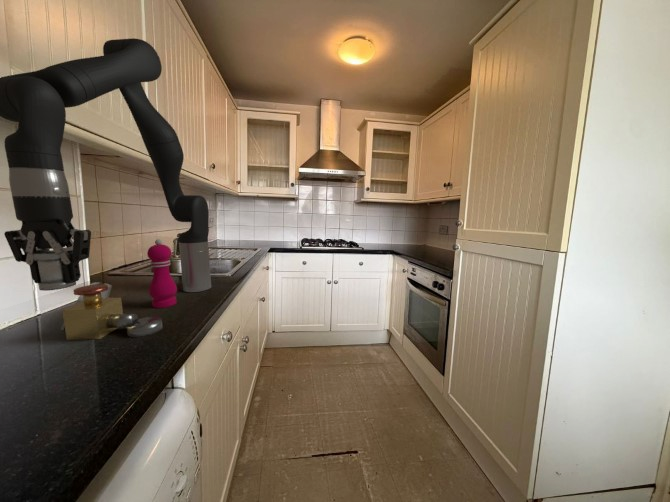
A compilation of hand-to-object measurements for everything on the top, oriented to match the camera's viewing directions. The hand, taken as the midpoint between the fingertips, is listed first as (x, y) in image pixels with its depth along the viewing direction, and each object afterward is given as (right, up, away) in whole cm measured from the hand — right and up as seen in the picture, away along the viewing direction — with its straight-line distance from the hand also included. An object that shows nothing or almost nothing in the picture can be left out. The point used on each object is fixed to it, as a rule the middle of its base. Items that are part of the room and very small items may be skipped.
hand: (57, 281), depth 54 cm
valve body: (+4, -13, +11) cm, 18 cm away
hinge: (-11, -12, +20) cm, 26 cm away
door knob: (0, -1, 0) cm, 1 cm away
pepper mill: (+3, -10, +29) cm, 31 cm away
